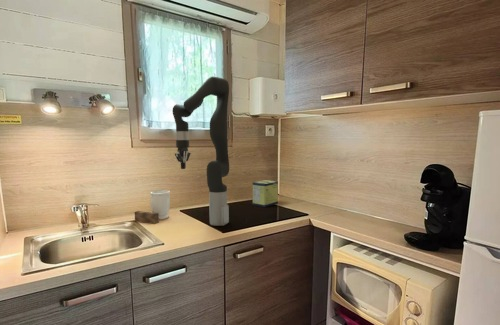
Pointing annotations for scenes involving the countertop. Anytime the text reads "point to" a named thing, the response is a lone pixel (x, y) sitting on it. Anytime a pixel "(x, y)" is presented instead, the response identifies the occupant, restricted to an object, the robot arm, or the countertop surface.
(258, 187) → the protein box
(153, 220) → the bar
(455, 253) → the countertop surface
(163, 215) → the jar
